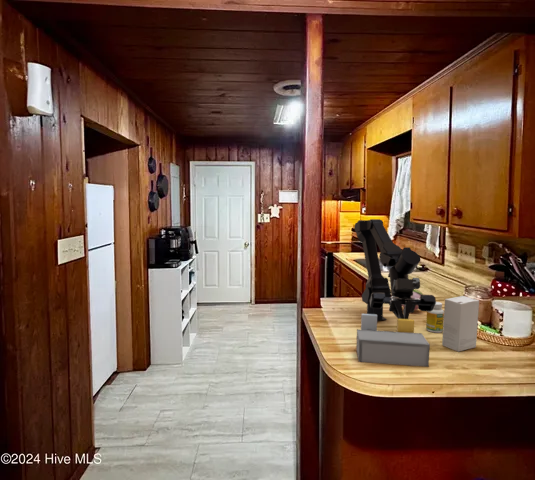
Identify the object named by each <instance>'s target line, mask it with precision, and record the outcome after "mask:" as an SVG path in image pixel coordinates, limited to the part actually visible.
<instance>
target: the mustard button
mask: <svg viewBox="0 0 535 480" xmlns="http://www.w3.org/2000/svg"><path fill="white" fill-rule="evenodd" d="M396 332H407V333H415V320H414V318H413V319H412V318H408V319H398V318H396Z"/></svg>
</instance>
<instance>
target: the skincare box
mask: <svg viewBox="0 0 535 480" xmlns="http://www.w3.org/2000/svg"><path fill="white" fill-rule="evenodd" d="M479 307H480V300H479V299H475V298H471V297H468V296H465V295H461V296H456V297H450V298H445V299H444V309H443V311H444V321H443V331H442V342H441V345H442V346H444V347H446V348H449V350H452V351H454V352H455V351H456V352H461V351H465V350H469V349H470V350H471V349H475V348H476V347H477V340H478V339H477V337H478V334H477V333H478V325H479V324H478V323H479V321H478V320H479V309H480V308H479Z"/></svg>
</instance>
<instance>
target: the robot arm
mask: <svg viewBox="0 0 535 480" xmlns="http://www.w3.org/2000/svg"><path fill="white" fill-rule="evenodd" d="M354 231H355V234H356V237H357V239H358V240H359V241H360V243H362V247H363V253H364V259H365V264H366V271H367V276H368V278H367V281H366V284H365V289H364V291H363V292H362V294H361V300H362V302H363V303H364V304H366V314H377V322H378V321H387V318H386V317H384V315H383V314H384V305H385V304H386V305H388V306H389V308H388V311H389V312H390V313H393V314H394V315H395V317H396V319H409V317H410V313H414V312H415V310H414V309H415V307H416V305H418V309H417V310H420V311H421V312H427V311H432V310H433V308H434V306H435V304H436V302H437V300H436V296H434V295H433V294H423V293H422V294H421V296H420V299H416V298H411V296H413V291H414V290H419V289H420V288H421V281H420V277H413V278H409V275H410V274H412V273H413V272H414V270H415V269H416V268H417V266H418V265H419V264H420V262H421V256H420V255H419V253H417V252H416V251H415V250H413V249H411V247H405V246H404V247H403V248H401V246H399V245H397V244H396V243H394V242H393V240H392V238H391V237H390V235H389V233H388V231H387V229H386V228H385V226H384V222H383V220H382V219H380V218H379V219H375V218H371V219H366V220H364V219H362V220H361V219H359V220H358V221H356V222H355V224H354ZM377 246H378V248H379V251H380V252H379V253H378V249H377ZM380 263H381V265H382V266H383V267H388V268H389V267H390V269H389V271H388V274H387V277H384V276H383V275H382V270H381V265H380ZM388 278H389V279H388ZM389 283H390V284H389ZM402 305H404V306H405V307H402Z"/></svg>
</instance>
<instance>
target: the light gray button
mask: <svg viewBox="0 0 535 480" xmlns="http://www.w3.org/2000/svg"><path fill="white" fill-rule="evenodd" d="M360 321H361V323H360V330H374V331H378V321H377V314H367V313H361V320H360Z"/></svg>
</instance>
